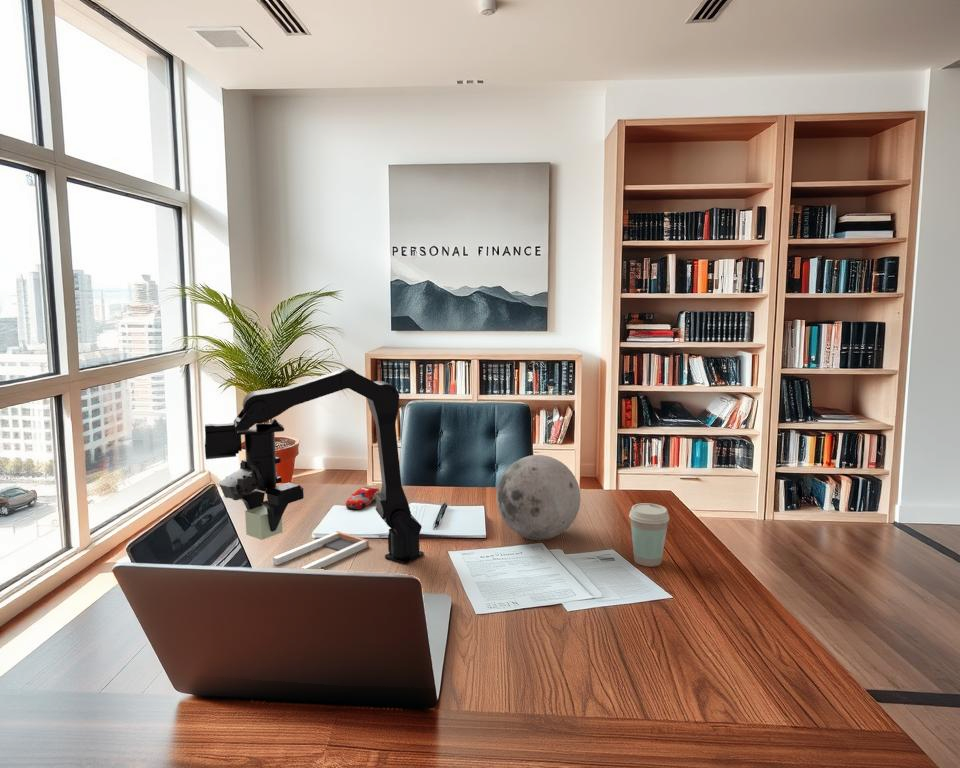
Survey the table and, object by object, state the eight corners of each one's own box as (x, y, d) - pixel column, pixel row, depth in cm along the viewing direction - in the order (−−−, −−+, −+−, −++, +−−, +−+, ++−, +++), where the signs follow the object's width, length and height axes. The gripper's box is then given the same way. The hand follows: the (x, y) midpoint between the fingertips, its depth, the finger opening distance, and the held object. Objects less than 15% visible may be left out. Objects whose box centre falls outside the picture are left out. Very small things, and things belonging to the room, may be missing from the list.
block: (282, 532, 132) (281, 508, 131) (261, 539, 128) (260, 515, 127) (267, 527, 135) (265, 504, 134) (246, 534, 131) (245, 511, 130)
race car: (359, 512, 174) (358, 498, 173) (342, 510, 176) (341, 496, 175) (383, 497, 186) (383, 484, 186) (367, 495, 188) (366, 482, 188)
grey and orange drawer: (368, 546, 150) (368, 540, 150) (350, 554, 145) (350, 548, 145) (337, 537, 156) (337, 531, 155) (319, 544, 151) (319, 538, 151)
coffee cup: (669, 570, 136) (671, 516, 134) (628, 567, 138) (629, 513, 136) (666, 554, 144) (668, 503, 142) (627, 552, 146) (628, 501, 144)
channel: (366, 547, 149) (366, 541, 149) (305, 575, 134) (305, 568, 134) (335, 538, 155) (335, 532, 155) (273, 564, 140) (273, 557, 140)
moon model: (577, 523, 164) (578, 447, 161) (582, 554, 144) (583, 468, 142) (499, 521, 166) (499, 445, 163) (493, 551, 146) (493, 466, 144)
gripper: (196, 456, 128) (202, 531, 130) (255, 470, 117) (260, 551, 120) (245, 445, 137) (249, 515, 139) (303, 457, 126) (307, 533, 129)
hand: (264, 528), depth 131 cm, fingers closed on block, 5 cm apart
